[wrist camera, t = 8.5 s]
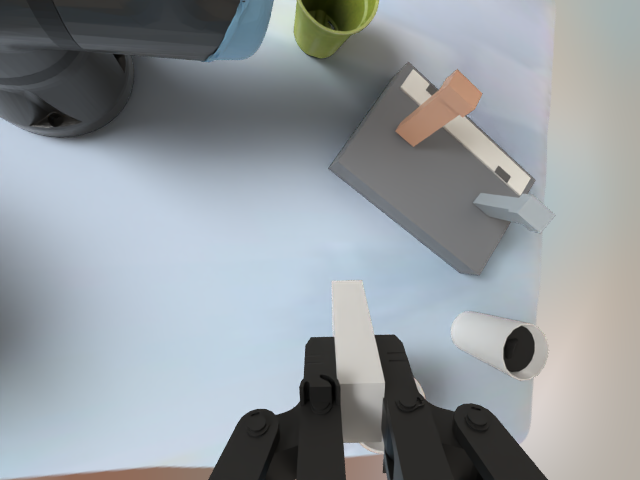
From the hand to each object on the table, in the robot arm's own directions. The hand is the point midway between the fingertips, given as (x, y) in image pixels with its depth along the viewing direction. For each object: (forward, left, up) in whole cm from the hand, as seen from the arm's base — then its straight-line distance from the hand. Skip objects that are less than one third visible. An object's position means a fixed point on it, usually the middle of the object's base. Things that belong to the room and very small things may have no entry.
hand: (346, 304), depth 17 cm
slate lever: (+17, +22, -22) cm, 36 cm away
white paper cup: (+28, +8, -27) cm, 40 cm away
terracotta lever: (+3, +22, -22) cm, 32 cm away
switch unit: (+10, +22, -26) cm, 36 cm away
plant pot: (-13, +27, -27) cm, 40 cm away
